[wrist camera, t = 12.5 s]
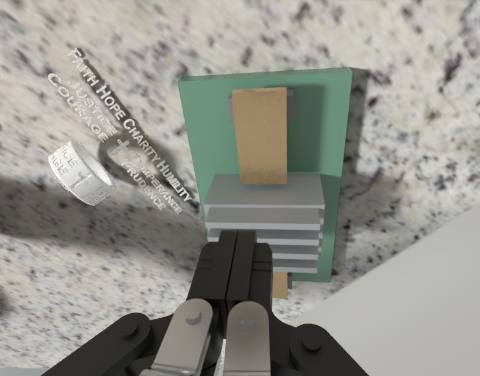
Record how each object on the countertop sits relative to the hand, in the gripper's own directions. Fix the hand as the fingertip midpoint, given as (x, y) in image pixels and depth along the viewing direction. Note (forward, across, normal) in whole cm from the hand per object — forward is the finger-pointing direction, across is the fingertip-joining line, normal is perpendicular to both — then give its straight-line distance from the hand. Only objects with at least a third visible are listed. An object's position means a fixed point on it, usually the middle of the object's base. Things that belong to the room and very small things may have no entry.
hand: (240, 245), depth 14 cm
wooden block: (+13, 0, +5) cm, 14 cm away
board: (+17, 0, +9) cm, 19 cm away
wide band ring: (+18, +17, +5) cm, 25 cm away
